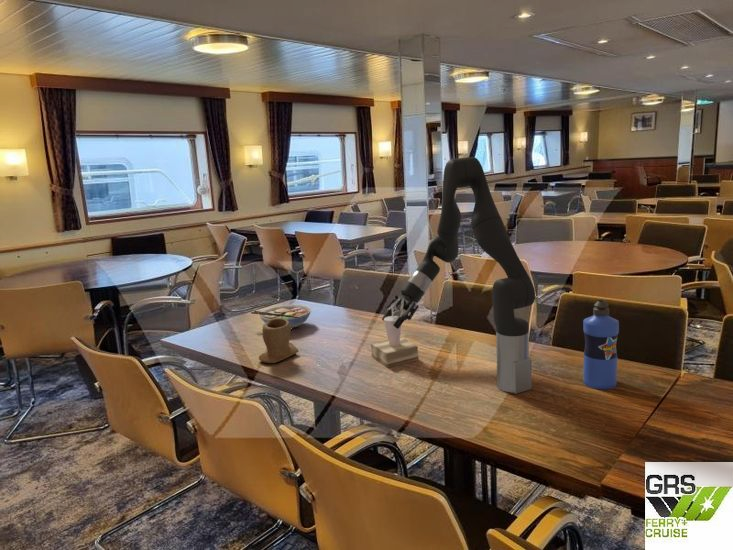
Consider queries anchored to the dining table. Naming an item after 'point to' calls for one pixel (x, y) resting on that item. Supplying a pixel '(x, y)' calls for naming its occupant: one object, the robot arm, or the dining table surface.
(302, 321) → the ramen bowl
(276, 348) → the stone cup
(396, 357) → the low rectangular block
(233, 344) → the dining table surface
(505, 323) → the robot arm
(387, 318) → the smoothie
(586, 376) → the water bottle
